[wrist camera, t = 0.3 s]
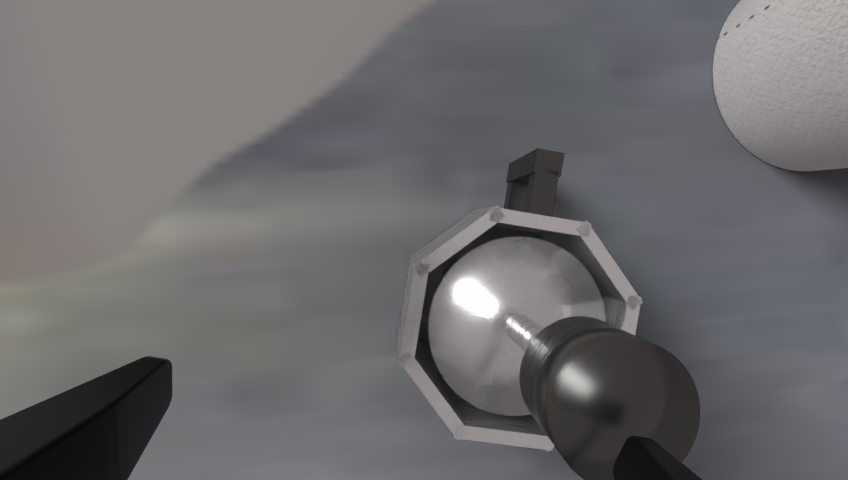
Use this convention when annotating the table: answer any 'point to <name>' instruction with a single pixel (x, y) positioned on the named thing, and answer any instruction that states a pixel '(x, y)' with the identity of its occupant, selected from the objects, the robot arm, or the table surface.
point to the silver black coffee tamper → (556, 355)
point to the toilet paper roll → (786, 81)
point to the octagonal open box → (519, 218)
